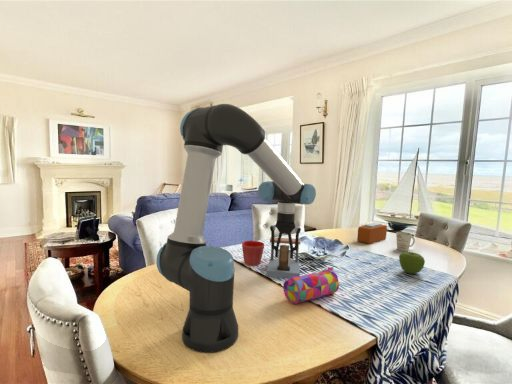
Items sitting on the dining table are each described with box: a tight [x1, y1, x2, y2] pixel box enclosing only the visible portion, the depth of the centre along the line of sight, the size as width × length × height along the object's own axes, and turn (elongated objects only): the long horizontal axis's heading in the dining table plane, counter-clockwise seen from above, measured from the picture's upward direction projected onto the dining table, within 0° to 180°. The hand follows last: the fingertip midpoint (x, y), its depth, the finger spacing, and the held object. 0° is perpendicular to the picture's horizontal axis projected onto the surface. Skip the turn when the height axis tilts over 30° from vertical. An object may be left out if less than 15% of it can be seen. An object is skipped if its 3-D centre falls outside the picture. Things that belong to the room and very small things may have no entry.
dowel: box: [279, 244, 290, 271], centre depth 123 cm, size 4×4×12 cm
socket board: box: [265, 236, 301, 279], centre depth 126 cm, size 16×14×13 cm
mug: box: [395, 231, 416, 252], centre depth 170 cm, size 8×13×10 cm, turn 107°
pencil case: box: [282, 267, 340, 305], centre depth 102 cm, size 22×9×9 cm, turn 126°
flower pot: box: [241, 240, 265, 267], centre depth 136 cm, size 11×11×10 cm
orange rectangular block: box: [356, 222, 388, 245], centre depth 189 cm, size 24×8×11 cm, turn 131°
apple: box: [398, 251, 426, 275], centre depth 130 cm, size 11×10×10 cm
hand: (283, 264), depth 123 cm, fingers closed on dowel, 4 cm apart
